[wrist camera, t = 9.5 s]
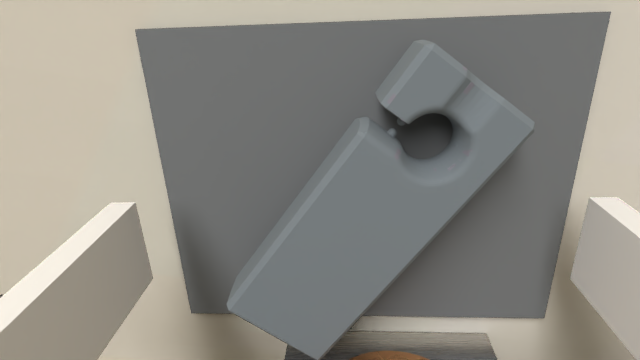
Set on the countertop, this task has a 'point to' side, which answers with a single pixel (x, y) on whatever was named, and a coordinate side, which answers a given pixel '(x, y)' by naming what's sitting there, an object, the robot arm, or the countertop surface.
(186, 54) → the mount pad
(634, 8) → the countertop surface
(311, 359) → the pipe fixture
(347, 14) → the countertop surface
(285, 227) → the bracket
